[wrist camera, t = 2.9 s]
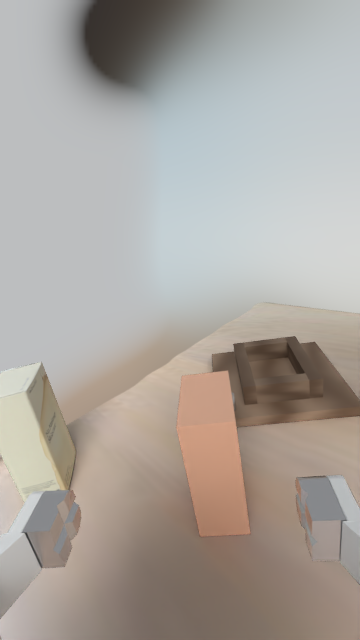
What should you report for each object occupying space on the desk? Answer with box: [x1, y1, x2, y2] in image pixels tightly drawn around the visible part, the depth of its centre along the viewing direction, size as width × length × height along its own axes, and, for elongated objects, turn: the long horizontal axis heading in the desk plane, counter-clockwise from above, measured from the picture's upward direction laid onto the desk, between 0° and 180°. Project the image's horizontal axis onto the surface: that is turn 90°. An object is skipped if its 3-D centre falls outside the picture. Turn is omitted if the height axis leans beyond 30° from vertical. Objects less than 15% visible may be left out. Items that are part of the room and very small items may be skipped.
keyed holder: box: [212, 336, 360, 427], centre depth 42 cm, size 16×16×4 cm
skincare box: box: [0, 362, 76, 503], centre depth 32 cm, size 6×4×12 cm
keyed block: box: [176, 371, 250, 537], centre depth 26 cm, size 4×6×11 cm, turn 177°
